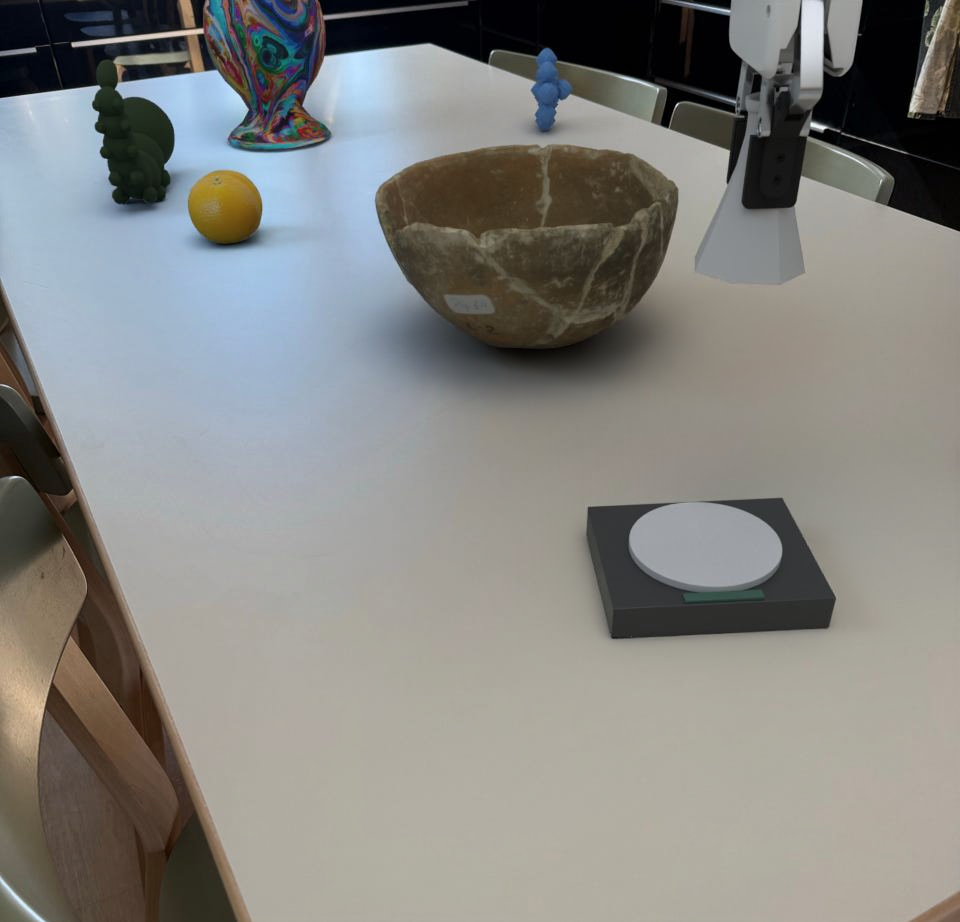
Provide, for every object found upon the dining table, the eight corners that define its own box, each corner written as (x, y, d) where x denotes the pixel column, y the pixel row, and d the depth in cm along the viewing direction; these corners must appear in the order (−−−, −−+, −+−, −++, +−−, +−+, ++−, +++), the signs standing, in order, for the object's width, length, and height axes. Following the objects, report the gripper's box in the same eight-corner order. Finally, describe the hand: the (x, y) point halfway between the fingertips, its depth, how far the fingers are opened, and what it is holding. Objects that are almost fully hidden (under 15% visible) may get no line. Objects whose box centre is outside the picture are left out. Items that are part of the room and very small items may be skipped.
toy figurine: (173, 229, 136) (187, 161, 153) (139, 72, 122) (158, 17, 140) (101, 233, 135) (124, 165, 152) (58, 76, 121) (88, 20, 139)
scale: (777, 525, 74) (783, 489, 72) (829, 627, 65) (838, 590, 63) (586, 534, 74) (587, 499, 72) (611, 638, 65) (614, 601, 63)
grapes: (573, 139, 161) (576, 52, 153) (530, 140, 161) (531, 53, 153) (569, 121, 170) (572, 39, 162) (529, 122, 170) (530, 40, 162)
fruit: (195, 254, 122) (181, 184, 117) (195, 233, 129) (182, 166, 124) (269, 248, 124) (258, 178, 119) (265, 227, 130) (255, 160, 125)
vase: (200, 140, 165) (159, -86, 146) (294, 120, 175) (267, -95, 156) (263, 160, 155) (228, -80, 136) (359, 137, 164) (338, -91, 145)
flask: (710, 244, 69) (730, 80, 63) (817, 259, 67) (849, 89, 60) (675, 279, 65) (693, 105, 58) (790, 296, 62) (821, 116, 56)
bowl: (483, 430, 86) (479, 251, 77) (343, 328, 104) (326, 172, 95) (727, 352, 97) (750, 187, 88) (563, 271, 115) (567, 127, 106)
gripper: (952, -188, 45) (862, 238, 56) (839, -189, 58) (785, 159, 69) (783, -183, 45) (728, 243, 56) (707, -185, 58) (675, 162, 69)
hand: (760, 193), depth 63 cm, fingers closed on flask, 3 cm apart
